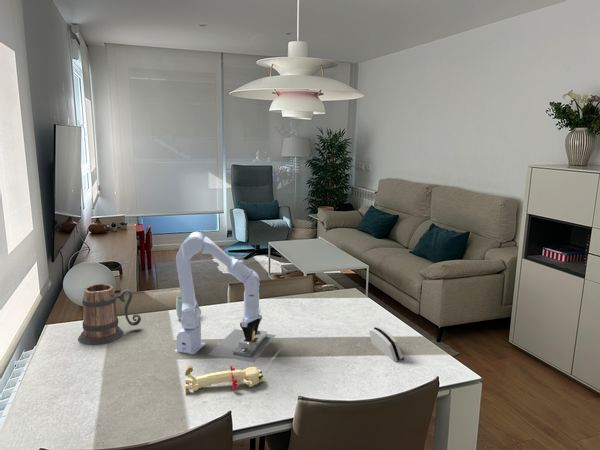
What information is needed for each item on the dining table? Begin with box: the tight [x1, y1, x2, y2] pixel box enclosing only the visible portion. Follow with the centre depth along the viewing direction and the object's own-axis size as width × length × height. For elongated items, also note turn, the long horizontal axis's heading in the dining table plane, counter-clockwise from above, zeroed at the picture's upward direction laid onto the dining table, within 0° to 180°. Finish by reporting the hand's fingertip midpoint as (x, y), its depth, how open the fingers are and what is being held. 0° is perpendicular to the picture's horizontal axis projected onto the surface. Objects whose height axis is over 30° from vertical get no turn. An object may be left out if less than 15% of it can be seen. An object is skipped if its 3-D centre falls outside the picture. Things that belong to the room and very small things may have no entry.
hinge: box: [368, 325, 407, 363], centre depth 171 cm, size 17×5×10 cm, turn 21°
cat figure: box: [184, 365, 266, 394], centre depth 144 cm, size 10×9×25 cm
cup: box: [175, 294, 182, 321], centre depth 196 cm, size 8×8×10 cm
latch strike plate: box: [233, 329, 269, 357], centre depth 172 cm, size 18×7×3 cm, turn 165°
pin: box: [247, 330, 255, 343], centre depth 172 cm, size 3×3×6 cm
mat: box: [207, 328, 276, 363], centre depth 173 cm, size 24×18×1 cm
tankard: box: [77, 283, 142, 347], centre depth 178 cm, size 24×17×20 cm
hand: (251, 337), depth 172 cm, fingers open, 5 cm apart
